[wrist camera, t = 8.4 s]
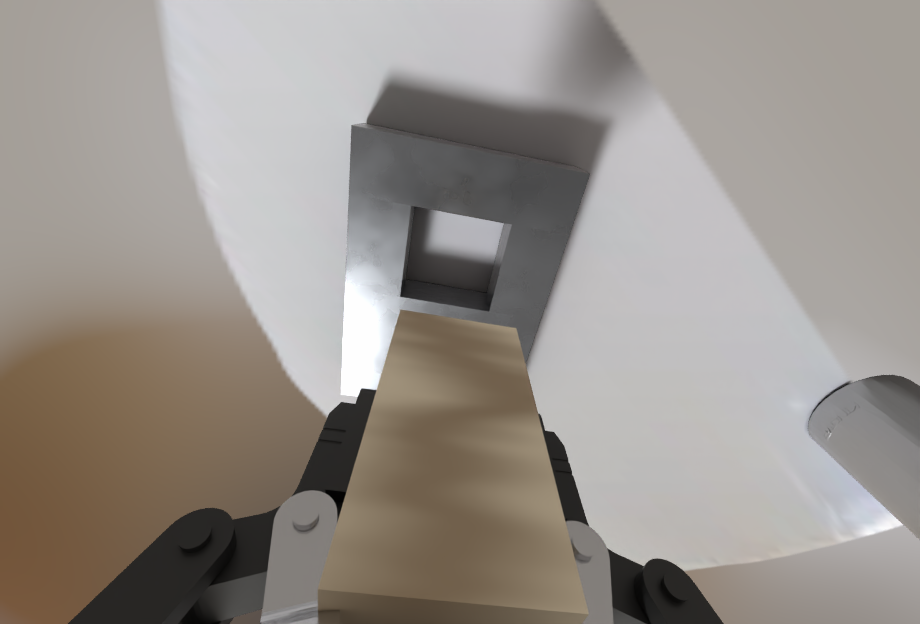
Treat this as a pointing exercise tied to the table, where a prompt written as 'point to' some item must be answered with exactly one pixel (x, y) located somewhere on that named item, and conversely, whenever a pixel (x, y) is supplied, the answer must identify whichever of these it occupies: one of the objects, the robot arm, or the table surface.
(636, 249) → the table surface
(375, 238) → the metal socket plate
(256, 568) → the robot arm
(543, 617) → the maple block
